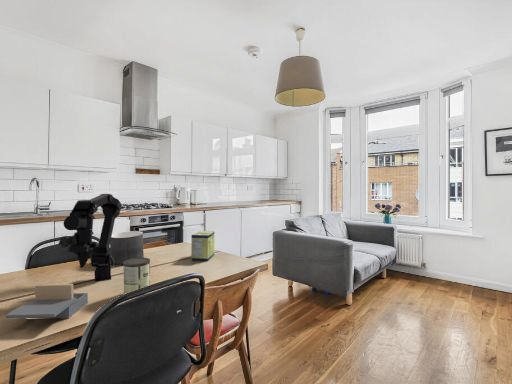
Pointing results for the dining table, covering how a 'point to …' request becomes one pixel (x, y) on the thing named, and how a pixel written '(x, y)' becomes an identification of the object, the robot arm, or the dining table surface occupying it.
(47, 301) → the lid
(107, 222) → the robot arm
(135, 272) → the coffee can
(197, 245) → the protein box
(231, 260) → the dining table surface
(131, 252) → the planter
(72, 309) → the mailer box
